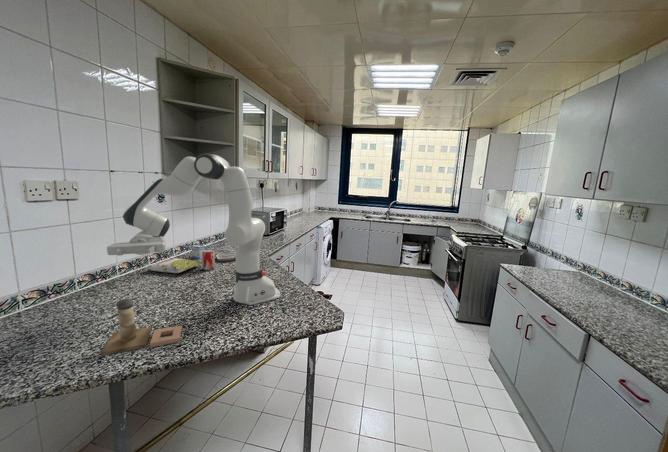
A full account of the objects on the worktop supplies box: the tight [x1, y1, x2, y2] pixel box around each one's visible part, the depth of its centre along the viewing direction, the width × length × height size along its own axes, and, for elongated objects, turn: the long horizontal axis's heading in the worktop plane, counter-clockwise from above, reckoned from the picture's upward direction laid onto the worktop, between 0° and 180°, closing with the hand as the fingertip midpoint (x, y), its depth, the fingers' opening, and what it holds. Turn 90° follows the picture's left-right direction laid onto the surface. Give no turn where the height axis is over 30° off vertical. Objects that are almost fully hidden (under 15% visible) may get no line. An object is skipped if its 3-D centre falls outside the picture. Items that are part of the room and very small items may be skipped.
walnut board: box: [101, 326, 153, 356], centre depth 99 cm, size 12×12×1 cm
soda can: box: [201, 248, 216, 271], centre depth 174 cm, size 7×7×12 cm
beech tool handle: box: [116, 298, 137, 342], centre depth 97 cm, size 4×4×14 cm
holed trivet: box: [149, 325, 183, 348], centre depth 102 cm, size 9×9×2 cm
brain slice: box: [215, 250, 237, 263], centre depth 198 cm, size 20×17×3 cm
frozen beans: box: [144, 257, 203, 274], centre depth 171 cm, size 21×6×25 cm
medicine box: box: [191, 244, 205, 260], centre depth 196 cm, size 8×4×9 cm, turn 68°
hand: (133, 252), depth 110 cm, fingers open, 8 cm apart
